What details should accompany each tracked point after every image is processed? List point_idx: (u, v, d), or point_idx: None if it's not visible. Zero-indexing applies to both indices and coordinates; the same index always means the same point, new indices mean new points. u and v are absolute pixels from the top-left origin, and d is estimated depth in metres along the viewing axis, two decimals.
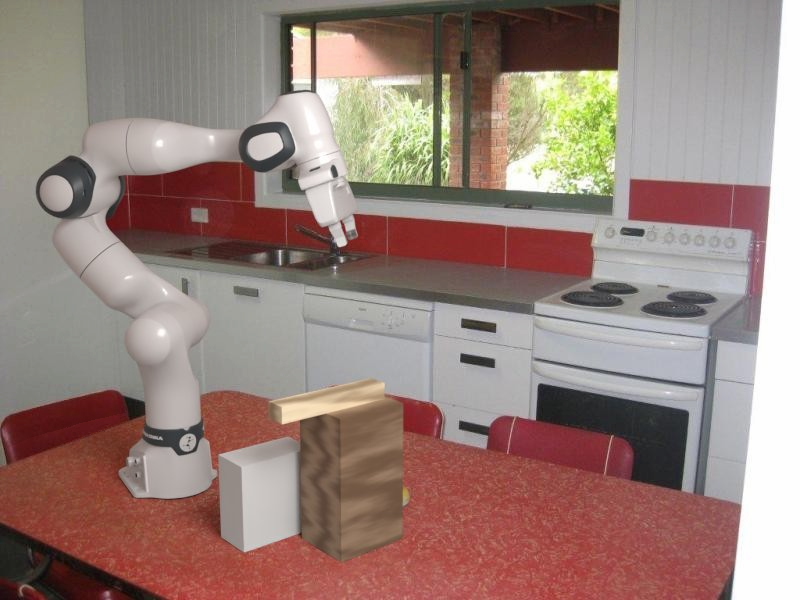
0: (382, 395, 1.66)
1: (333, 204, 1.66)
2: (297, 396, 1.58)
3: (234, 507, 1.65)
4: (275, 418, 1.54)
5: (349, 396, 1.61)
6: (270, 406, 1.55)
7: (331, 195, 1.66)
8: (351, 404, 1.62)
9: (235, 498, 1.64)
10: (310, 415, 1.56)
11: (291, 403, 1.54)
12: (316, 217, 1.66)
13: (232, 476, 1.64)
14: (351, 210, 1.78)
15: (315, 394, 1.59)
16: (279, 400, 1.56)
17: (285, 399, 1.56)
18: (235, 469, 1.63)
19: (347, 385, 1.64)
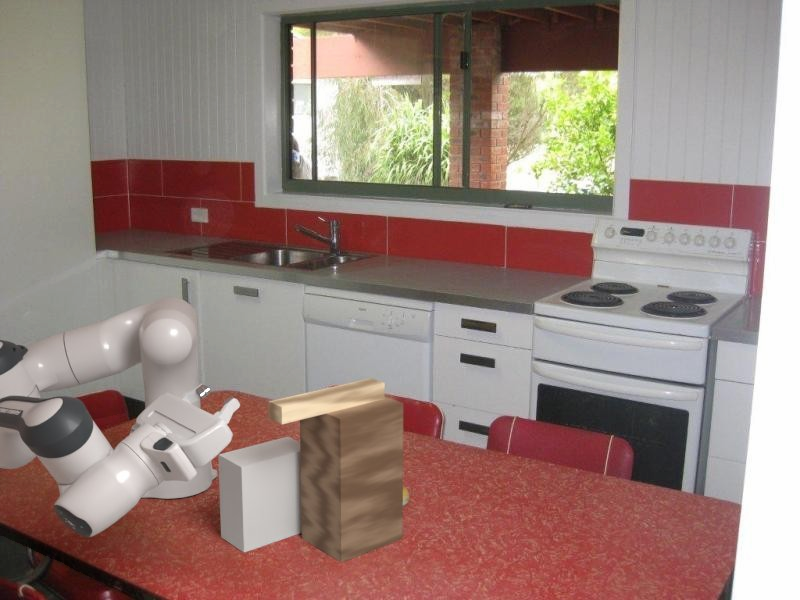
0: (382, 395, 1.66)
1: (207, 432, 1.38)
2: (297, 396, 1.58)
3: (234, 507, 1.65)
4: (275, 418, 1.54)
5: (349, 396, 1.61)
6: (270, 406, 1.55)
7: (197, 438, 1.37)
8: (351, 404, 1.62)
9: (235, 498, 1.64)
10: (310, 415, 1.56)
11: (291, 403, 1.54)
12: (226, 445, 1.40)
13: (232, 476, 1.64)
14: (180, 402, 1.49)
15: (315, 394, 1.59)
16: (279, 400, 1.56)
17: (285, 399, 1.56)
18: (235, 469, 1.63)
19: (347, 385, 1.64)
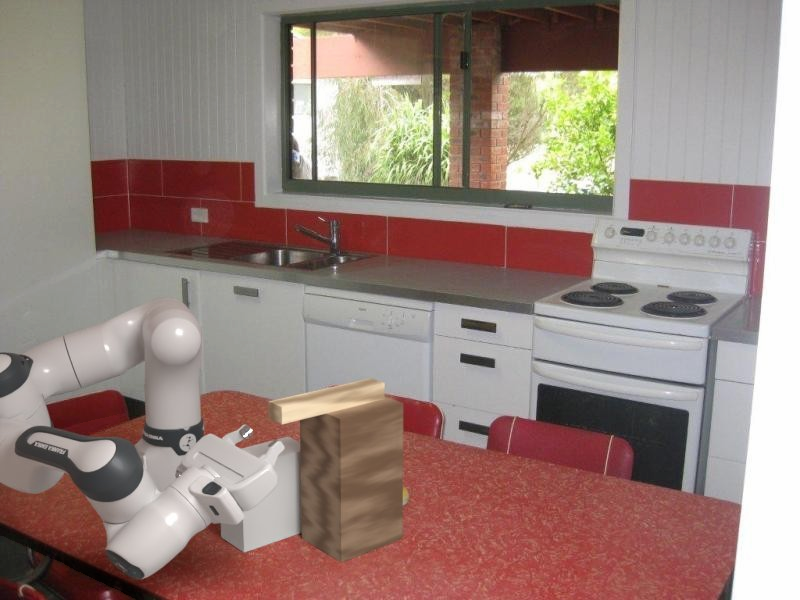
0: (382, 395, 1.66)
1: (255, 476, 1.41)
2: (297, 396, 1.58)
3: None
4: (275, 418, 1.54)
5: (349, 396, 1.61)
6: (270, 406, 1.55)
7: (246, 483, 1.40)
8: (351, 404, 1.62)
9: None
10: (310, 415, 1.56)
11: (291, 403, 1.54)
12: (272, 488, 1.43)
13: None
14: (225, 444, 1.52)
15: (315, 394, 1.59)
16: (279, 400, 1.56)
17: (285, 399, 1.56)
18: None
19: (347, 385, 1.64)
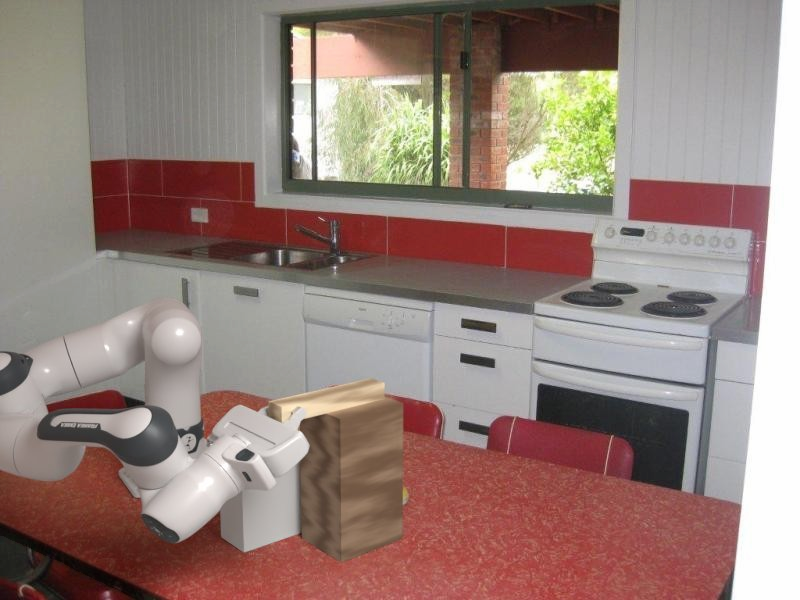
0: (382, 395, 1.66)
1: (287, 443, 1.44)
2: (297, 396, 1.58)
3: (234, 507, 1.65)
4: (275, 418, 1.54)
5: (349, 396, 1.61)
6: (270, 406, 1.55)
7: (278, 449, 1.44)
8: (351, 404, 1.62)
9: (235, 498, 1.64)
10: (310, 415, 1.56)
11: (291, 403, 1.54)
12: (303, 455, 1.47)
13: None
14: (255, 414, 1.55)
15: (315, 394, 1.59)
16: (279, 400, 1.56)
17: (285, 399, 1.56)
18: None
19: (347, 385, 1.64)
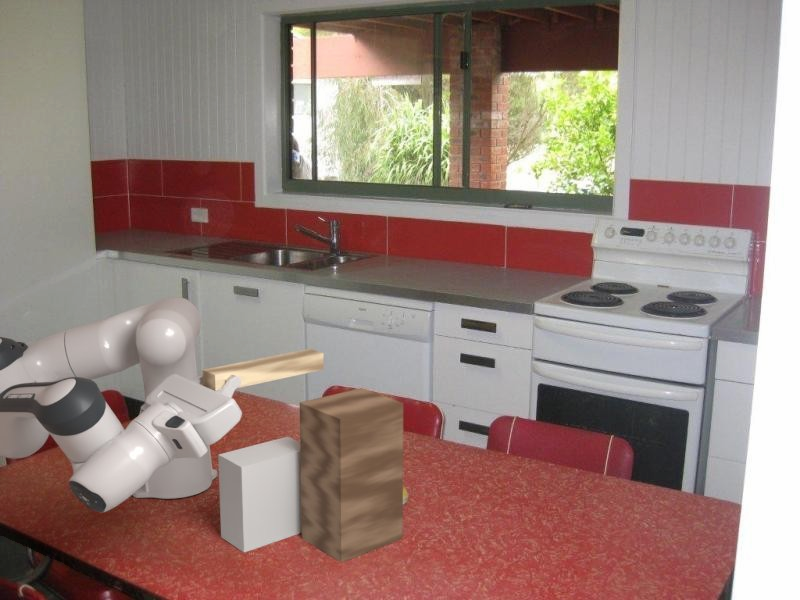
0: (321, 365, 1.65)
1: (218, 410, 1.42)
2: (232, 365, 1.56)
3: (234, 507, 1.65)
4: (209, 386, 1.52)
5: (286, 365, 1.59)
6: (204, 374, 1.53)
7: (209, 416, 1.42)
8: (288, 374, 1.60)
9: (235, 498, 1.64)
10: (245, 384, 1.54)
11: (225, 371, 1.52)
12: (235, 423, 1.45)
13: (232, 476, 1.64)
14: (189, 382, 1.53)
15: (251, 363, 1.57)
16: (213, 369, 1.53)
17: (220, 368, 1.54)
18: (235, 469, 1.63)
19: (285, 355, 1.62)
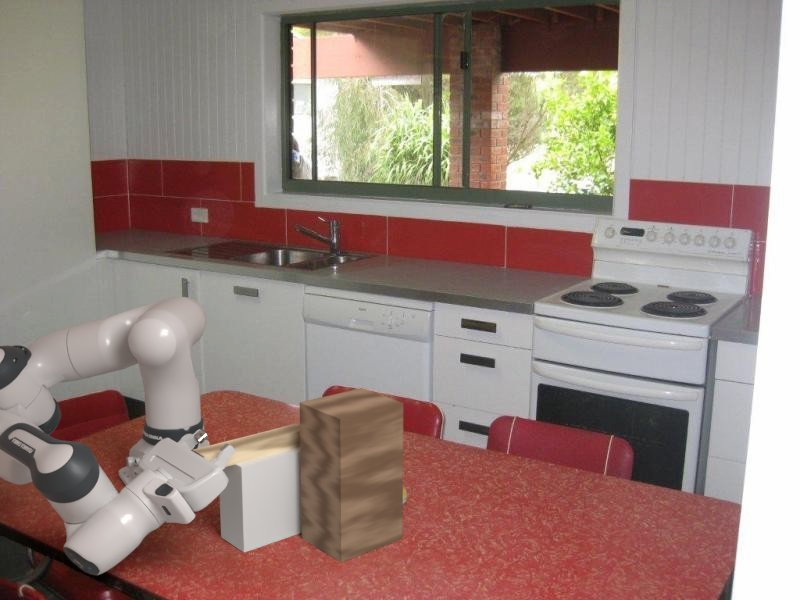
0: None
1: (204, 479, 1.50)
2: (221, 444, 1.63)
3: (234, 507, 1.65)
4: None
5: (273, 442, 1.67)
6: None
7: (196, 485, 1.49)
8: (275, 450, 1.67)
9: (235, 498, 1.64)
10: (233, 463, 1.62)
11: (214, 452, 1.60)
12: (222, 490, 1.52)
13: (232, 476, 1.64)
14: (179, 448, 1.61)
15: (239, 441, 1.65)
16: (203, 448, 1.61)
17: (209, 447, 1.62)
18: (235, 469, 1.63)
19: (272, 432, 1.70)
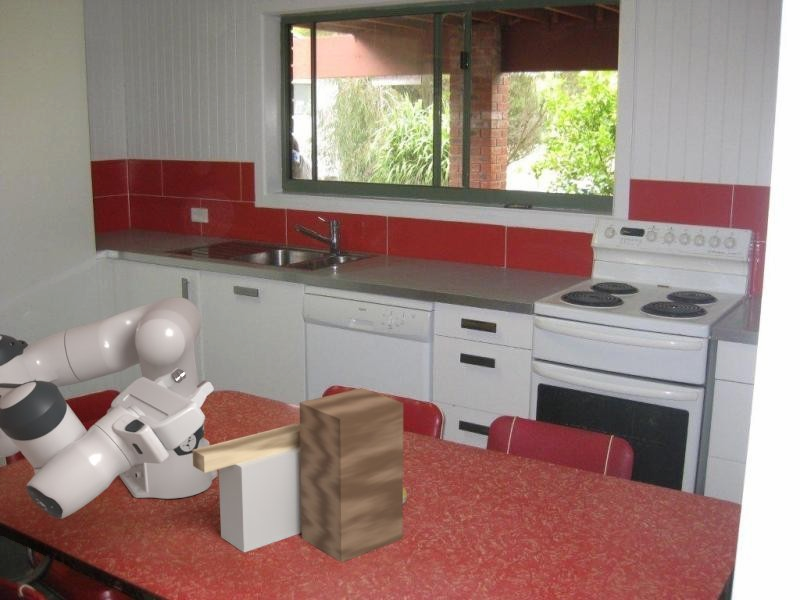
0: None
1: (178, 414, 1.38)
2: (221, 444, 1.63)
3: (234, 507, 1.65)
4: (198, 466, 1.60)
5: (273, 442, 1.67)
6: (194, 454, 1.60)
7: (169, 420, 1.38)
8: (275, 450, 1.67)
9: (235, 498, 1.64)
10: (233, 463, 1.62)
11: (214, 452, 1.60)
12: (198, 427, 1.40)
13: (232, 476, 1.64)
14: (155, 386, 1.49)
15: (239, 441, 1.65)
16: (203, 448, 1.61)
17: (209, 447, 1.62)
18: (235, 469, 1.63)
19: (272, 432, 1.70)
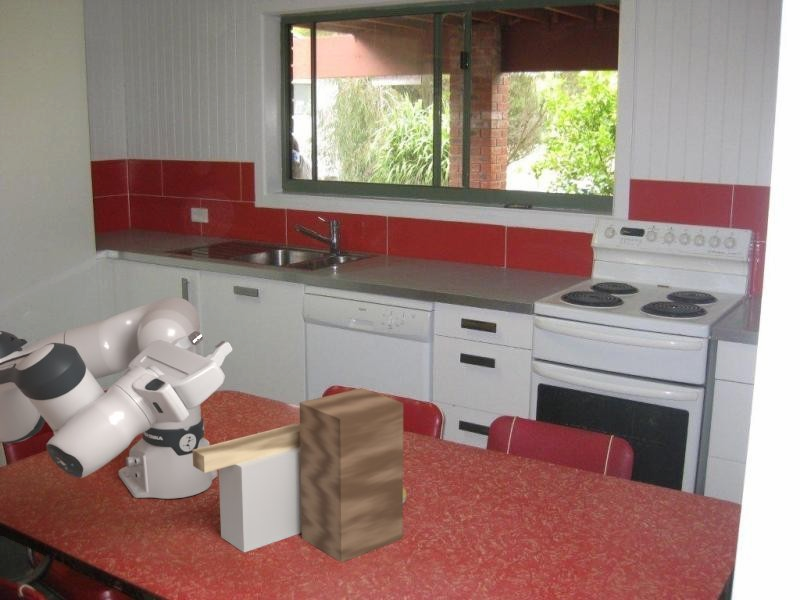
0: None
1: (199, 373, 1.38)
2: (221, 444, 1.63)
3: (234, 507, 1.65)
4: (198, 466, 1.60)
5: (273, 442, 1.67)
6: (194, 454, 1.60)
7: (189, 378, 1.37)
8: (275, 450, 1.67)
9: (235, 498, 1.64)
10: (233, 463, 1.62)
11: (214, 452, 1.60)
12: (218, 386, 1.40)
13: (232, 476, 1.64)
14: (172, 347, 1.49)
15: (239, 441, 1.65)
16: (203, 448, 1.61)
17: (209, 447, 1.62)
18: (235, 469, 1.63)
19: (272, 432, 1.70)
